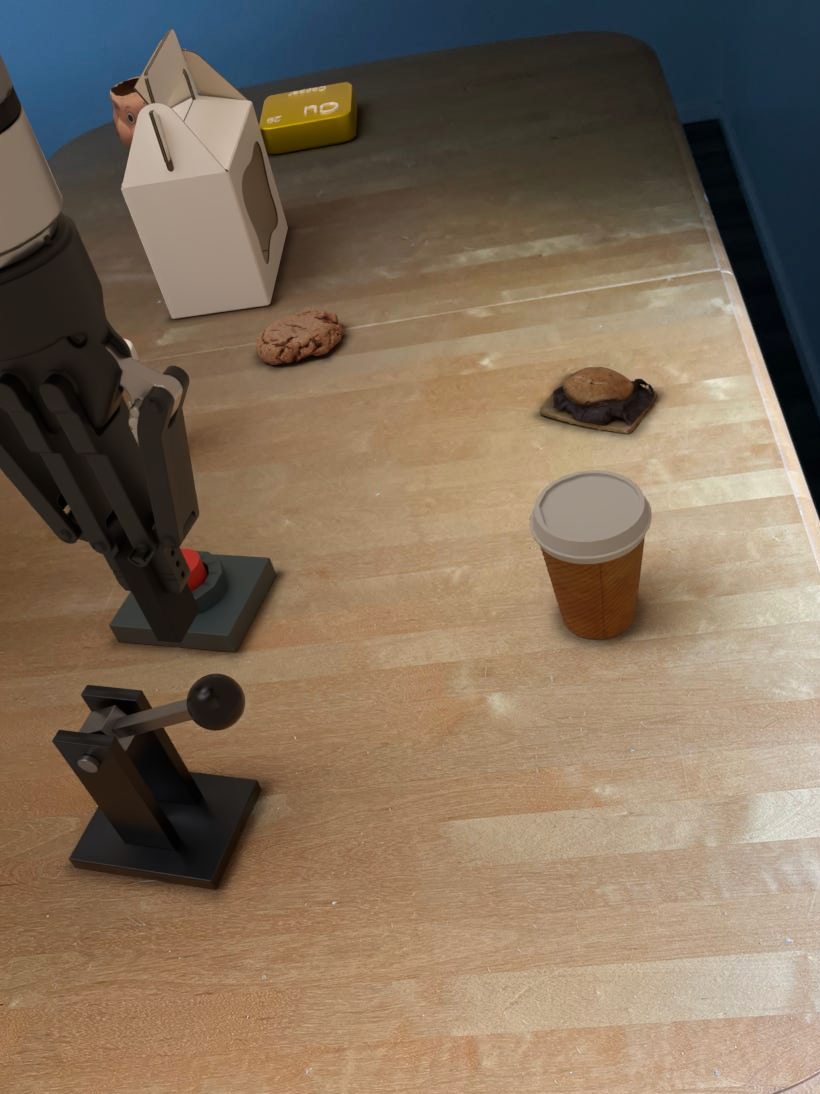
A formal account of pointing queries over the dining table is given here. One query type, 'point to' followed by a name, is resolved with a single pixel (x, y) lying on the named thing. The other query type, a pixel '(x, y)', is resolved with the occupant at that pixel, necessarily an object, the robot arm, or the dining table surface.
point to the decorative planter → (126, 109)
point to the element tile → (309, 118)
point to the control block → (209, 605)
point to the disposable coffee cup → (593, 548)
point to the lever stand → (152, 803)
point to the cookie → (299, 336)
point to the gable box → (202, 188)
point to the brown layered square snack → (600, 400)
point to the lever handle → (175, 711)
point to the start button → (194, 568)
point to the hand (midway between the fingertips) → (179, 624)
